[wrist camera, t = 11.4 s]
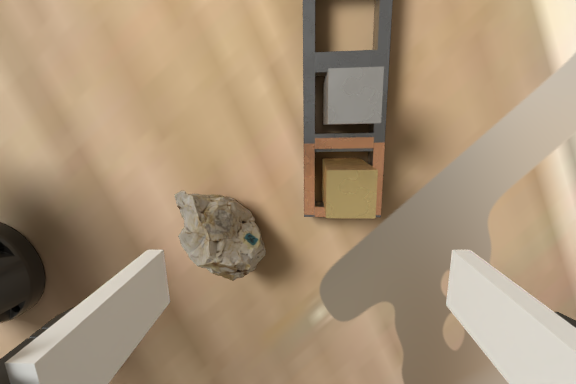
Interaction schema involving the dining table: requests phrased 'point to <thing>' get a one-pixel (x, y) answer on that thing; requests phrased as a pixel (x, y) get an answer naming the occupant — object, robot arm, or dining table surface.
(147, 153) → the dining table surface
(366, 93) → the grey square-ended block
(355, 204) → the tan rectangular block
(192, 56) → the dining table surface
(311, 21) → the grey block rack
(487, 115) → the dining table surface
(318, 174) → the dining table surface
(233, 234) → the rock
